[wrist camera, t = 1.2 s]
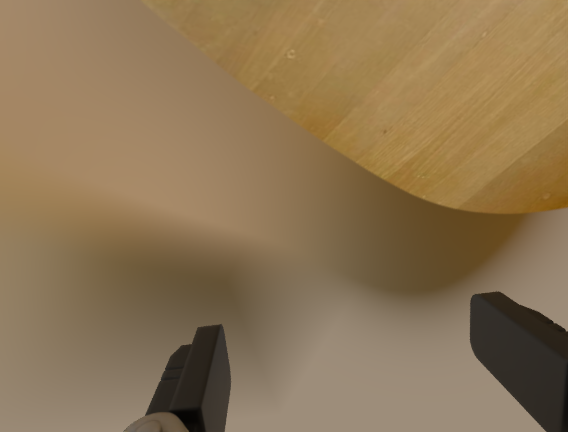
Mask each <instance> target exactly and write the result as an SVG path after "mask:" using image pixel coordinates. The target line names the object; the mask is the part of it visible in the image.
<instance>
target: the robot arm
mask: <svg viewBox="0 0 568 432" xmlns="http://www.w3.org/2000/svg"><path fill="white" fill-rule="evenodd" d="M470 307H471V308H470V343H471V347H472V350H473V352H474V354H475V356H476V357H477V359H478V360H479V361H480V362H481V363H482V364H483V365H484V366H485V367H486V368H487V369H488V370H489V371H490V373H491V374H492V375H493V376H494V377H495V378H496V379H497V380H498V381H499V382H500V383H501V384H502V385H503V386H504V387H505V388H506V389H507V391H508V392H510V394H511V395H512V396H513V397H514V398H515V399H516V400H517V401H518V402H519V403H520V404H521V405H522V406H523V407H524V409H525V410H526V411H527V412H528V413H529V414H530V415H531V416H532V417H533V418H534V419H535V420H536V421H537V422H538V423H539V424H540V425H541V427H543V429H544V430H545V431H546V432H568V332H566V330H565V329H564V328H562V327H561V326H559V325H558V324H556V323H553V321H552V320H550V319H549V318H547V317H545V316H544V315H543V314H541V313H539V312H537V311H535V310H532V309H529V308H527V307H524V306H522V305H519V304H517V303H516V302H514V301H513V300H511V299H510V298H509V297H507V296H506V295H504V294H503V293H501V292H490V293H481V294H475V295H473V296H472V298H471V303H470ZM230 387H231V376H230V366H229V359H228V353H227V347H226V341H225V334H224V329H223V326H222V324H220V325H212V326H204V327H198V328H197V331H196V334H195V337H194V340H193V343H192V344H189V345H182V346H181V347H180V348H179V349H178V350H177V351H176V352H175V353H174V354H173V355H172V356H171V357H170V359H169V361H168V364H167V366H166V368H165V371H164V373H163V375H162V377H161V381H160V382H159V385H158V387H157V389H156V391H155V394H154V396H153V398H152V401H151V403H150V405H149V408H148V410H147V412H146V415H145V416H144V417H142V418H140V419H138V420H137V421H135V422H134V423H132V424H131V425H130V426H128V427H127V428H126V429H125V430H124V431H123V432H224V431H225V424H226V417H227V409H228V403H229V396H230Z"/></svg>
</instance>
